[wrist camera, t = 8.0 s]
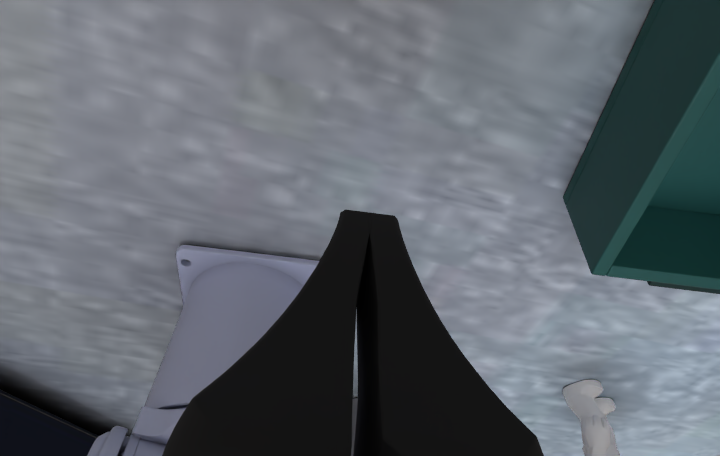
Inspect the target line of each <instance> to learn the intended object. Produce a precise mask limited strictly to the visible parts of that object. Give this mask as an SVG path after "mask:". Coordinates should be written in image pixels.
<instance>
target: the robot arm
mask: <svg viewBox="0 0 720 456" xmlns="http://www.w3.org/2000/svg"><path fill="white" fill-rule="evenodd" d="M185 259H186V260H189V261H186V260H185ZM176 260H177V266H178V273H179V280H180V286H181V293H182V300H183V309H182V311H181V314H180V316H179V319H178V321H177V324H176V327H175V329H174V332H173V334H172V337H171V339H170V342H169V344H168V347H167V350H166V352H165V355H164V357H163V360H162V362H161V365H160V368H159V370H158V373H157V375H156V378H155V380H154V383H153V386H152V388H151V391H150V393H149V396H148V398H147V401H146V403H145V406H144V407H142V408H141V410H140V413H139V415H138V418H137V420H136V423H135V425H134V428H133V430H132V433H131V435H130V437H128V436H126V435H127V432H128V429H127V428H124V427H121V426H115V427H113V428H112V430H111V431H110V432H106V433H104V434H102V435H101V436H99V437H97V438H96V440H95V441H94V443H93V445H92V447H91V449H90V451H89V453H88V455H87V456H351V448H352V403H353V367H354V342H355V321H356V308H357V349H358V403H357V416H356V428H355V441H354V453H353V456H544V455H543V453H542V450H541V447H540V444H539V442H538V439H537V437H536V436H535V435H534V434H533V433H532V432H531V431H530V430H529V429H528V428H527V427H526V426H525V425H524V424H523V423H522V422H521V421H520V420H519V419H518V418H517V417H516V416H515V415H514V414H513V413H512V412H511V411H510V410H509V409H508V408H507V407H506V406H505V405H504V404H503V403H502V401H501V400H500V399H499V398H498V397H497V396H496V395H495V393H494V392H493V391H492V390H491V389H490V388H489V387H488V386H487V384H486V383H485V382H484V380H483V379H482V378H481V377H480V375H479V374H478V373H477V372H476V370H475V369H474V368H473V367H472V365H471V364H470V363H469V361H468V360H467V359H466V358H465V356H464V355H463V354H462V352H461V351H460V349H459V348H458V346H457V345H456V343H455V342H454V341H453V339H452V338H451V336H450V335H449V333H448V331H447V330H446V328H445V327H444V325H443V323H442V322H441V320H440V318H439V317H438V315H437V313H436V311H435V310H434V308H433V306H432V304H431V302H430V300H429V299H428V297H427V295H426V293H425V291H424V289H423V287H422V285H421V283H420V280H419V278H418V276H417V274H416V271H415V269H414V267H413V265H412V262H411V260H410V257H409V255H408V252H407V249H406V246H405V244H404V241H403V238H402V234H401V231H400V227H399V223H398V220H397V218H396V217H395V216H392V215H384V214H376V213H368V212H360V211H352V210H344V211H343V212H341V213H340V217H339V221H338V224H337V227H336V230H335V232H334V234H333V236H332V239H331V241H330V243H329V245H328V247H327V249H326V250H325V252H324V254H323V256H322V258H321V259H320V261H316V260H308V259H300V258H291V257H283V256H275V255H266V254H258V253H250V252H242V251H233V250H225V249H217V248H208V247H200V246H192V245H181V246H179V247H178V249H177V251H176Z"/></svg>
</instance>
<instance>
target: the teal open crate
mask: <svg viewBox="0 0 720 456" xmlns="http://www.w3.org/2000/svg"><path fill="white" fill-rule="evenodd" d="M563 199H564V202H565V204H566V207H567V210H568V212H569V215H570V218H571V220H572V223H573V226H574V228H575V231H576V234H577V236H578V239H579V242H580V244H581V247H582V250H583V252H584V255H585V258H586V260H587V263H588V266H589V268H590V271H591V273H592V274H594V275H603V276H605V275H606V276H611V277H619V278H627V279H635V280H643V281H647V282H648V284H649V285H651V286H659V287H667V288H675V289H683V290H691V291H700V292H708V293H716V294H720V0H655V1H654V4H653V6H652V8H651V10H650V12H649V14H648V16H647V19H646V21H645V23H644V25H643V27H642V29H641V31H640V34H639V36H638V38H637V40H636V42H635V44H634V46H633V49H632V51H631V53H630V55H629V57H628V59H627V61H626V64H625V66H624V68H623V70H622V72H621V74H620V76H619V79H618V81H617V83H616V85H615V87H614V89H613V91H612V94H611V96H610V98H609V100H608V102H607V104H606V106H605V109H604V111H603V113H602V115H601V117H600V119H599V121H598V124H597V126H596V128H595V130H594V132H593V134H592V136H591V139H590V141H589V143H588V145H587V147H586V149H585V151H584V154H583V156H582V158H581V160H580V162H579V164H578V166H577V169H576V171H575V173H574V175H573V177H572V179H571V181H570V184H569V186H568V188H567V190H566V192H565V194H564V196H563Z"/></svg>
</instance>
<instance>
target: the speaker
mask: <svg viewBox="0 0 720 456" xmlns="http://www.w3.org/2000/svg"><path fill="white" fill-rule="evenodd" d="M97 437H99V436H98V435H96V434H93V433H91V432H89V431H87V430H85V429H83V428H81V427H78V426H76V425H74V424H72V423H70V422H68V421H66V420H64V419H61V418H59V417H57V416H55V415H53V414H51V413H49V412H47V411H44V410H42V409H40V408H38V407H36V406H34V405H32V404H29V403H27V402H25V401H23V400H21V399H19V398H17V397H15V396H12V395H10V394H8V393H6V392H4V391H2V390H0V456H87V455H88V453H89V451H90V449H91V447H92V445H93V443H94V441H95V440H96V438H97Z"/></svg>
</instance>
